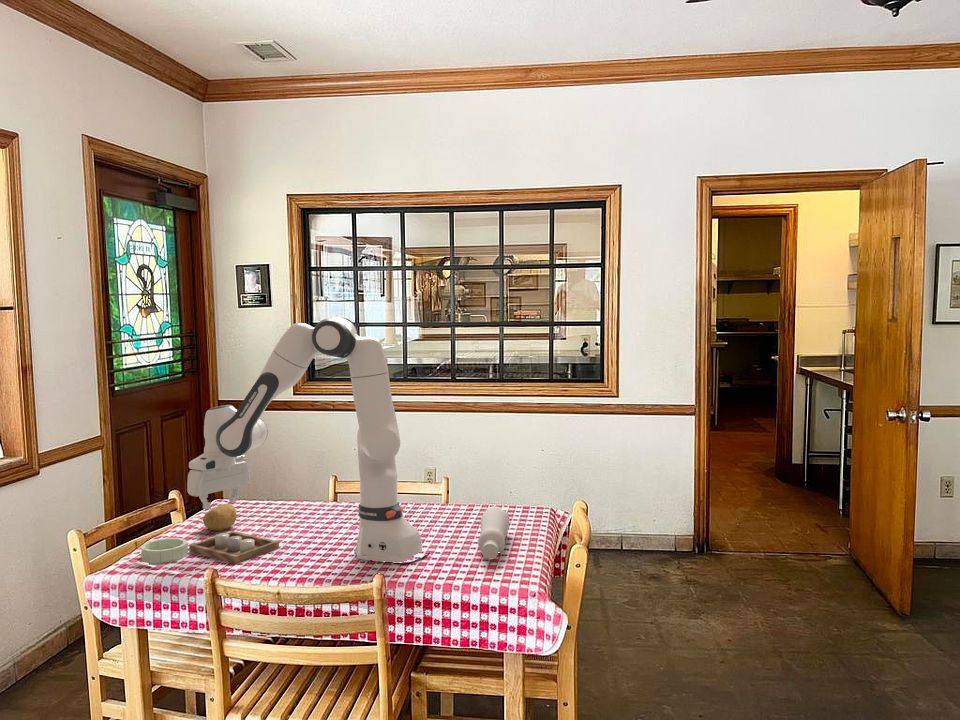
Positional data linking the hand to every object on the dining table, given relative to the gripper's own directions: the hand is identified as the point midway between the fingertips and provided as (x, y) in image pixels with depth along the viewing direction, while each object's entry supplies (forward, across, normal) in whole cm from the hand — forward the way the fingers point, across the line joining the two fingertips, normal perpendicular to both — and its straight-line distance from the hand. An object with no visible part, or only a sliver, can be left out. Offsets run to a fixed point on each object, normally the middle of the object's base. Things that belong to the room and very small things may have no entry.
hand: (220, 505), depth 211 cm
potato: (+14, -14, -16) cm, 25 cm away
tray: (+13, 0, +6) cm, 15 cm away
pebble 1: (+13, 0, 0) cm, 13 cm away
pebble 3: (+13, 0, +11) cm, 17 cm away
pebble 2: (+13, 0, +6) cm, 14 cm away
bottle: (+12, -43, +69) cm, 82 cm away
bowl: (+14, +14, -7) cm, 21 cm away
